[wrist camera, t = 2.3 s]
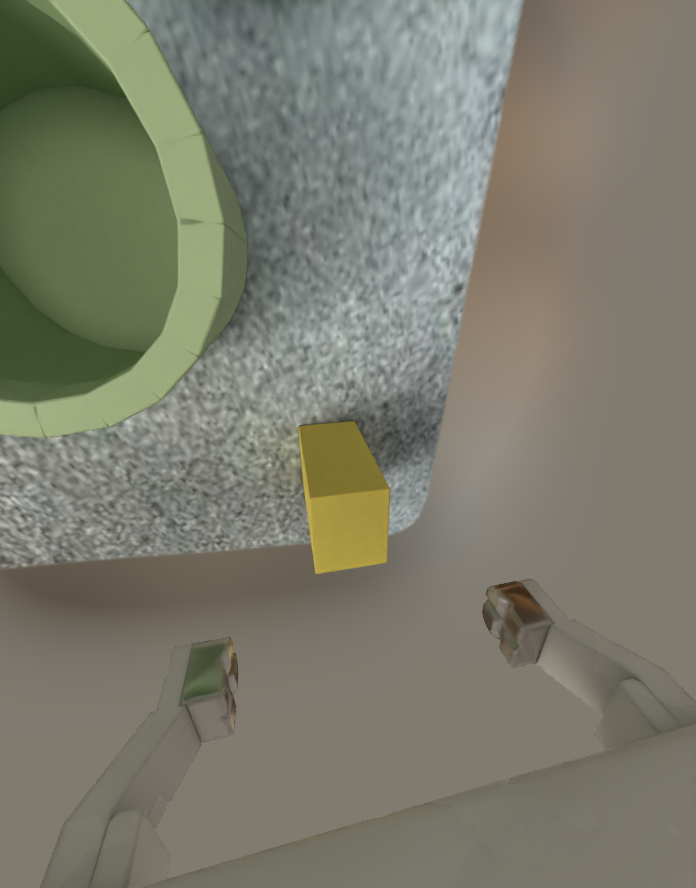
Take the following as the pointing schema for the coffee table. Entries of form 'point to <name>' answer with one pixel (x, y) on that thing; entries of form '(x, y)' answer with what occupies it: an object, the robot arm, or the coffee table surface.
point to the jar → (103, 221)
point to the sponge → (343, 497)
